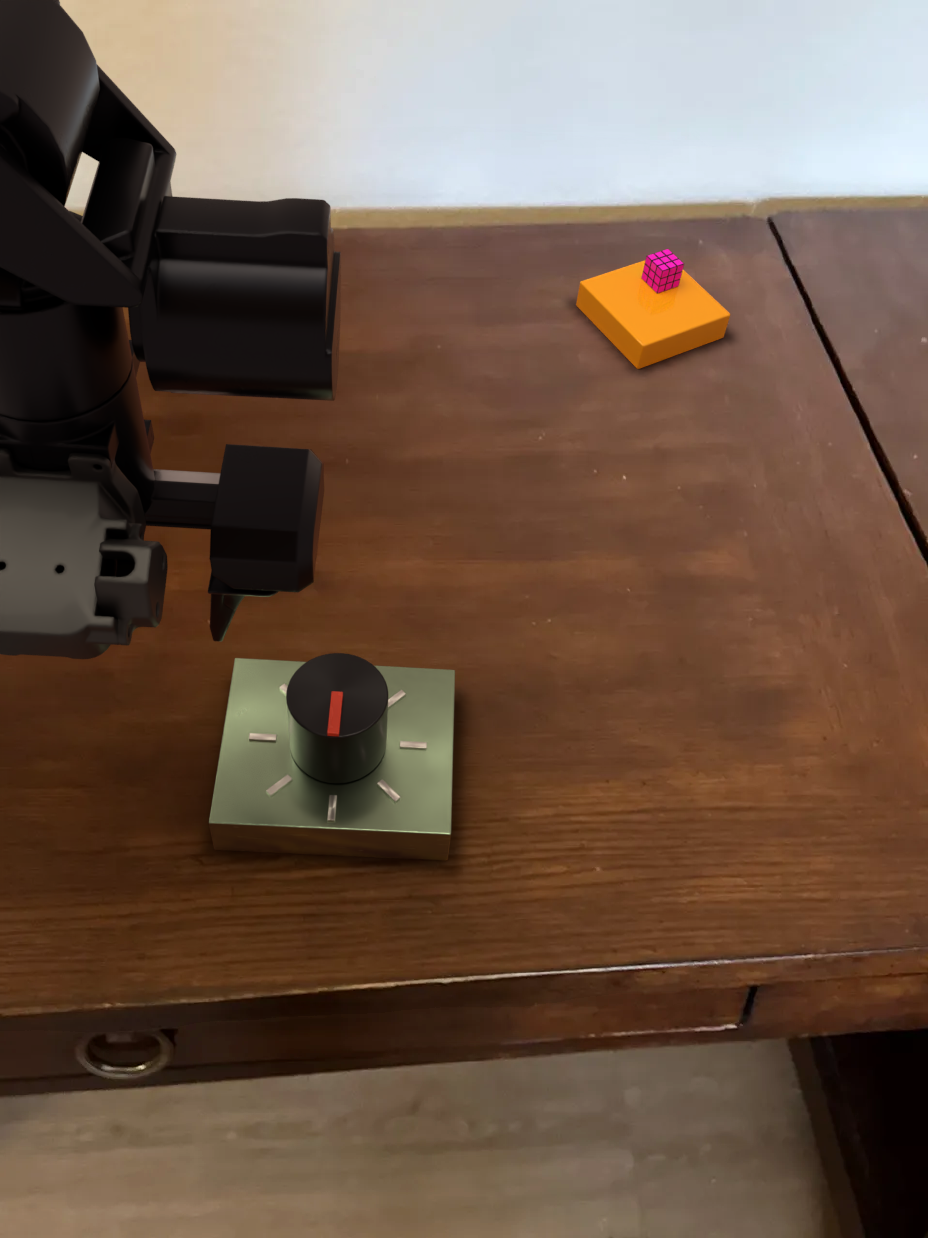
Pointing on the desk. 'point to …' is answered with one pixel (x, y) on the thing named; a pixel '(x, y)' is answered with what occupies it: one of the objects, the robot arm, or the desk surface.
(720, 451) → the desk surface
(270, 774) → the dial panel
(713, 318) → the orange square platform
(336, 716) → the pointer wheel
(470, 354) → the desk surface
